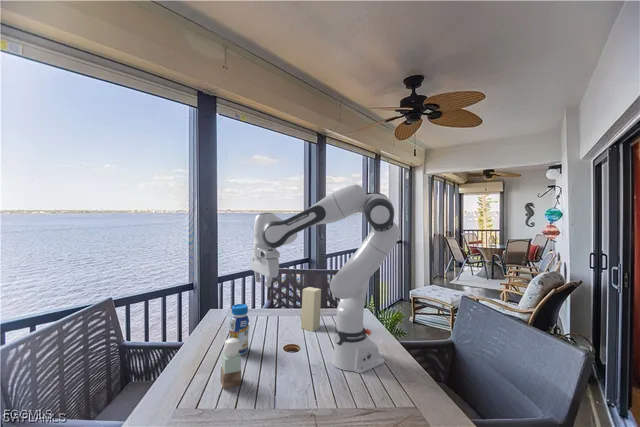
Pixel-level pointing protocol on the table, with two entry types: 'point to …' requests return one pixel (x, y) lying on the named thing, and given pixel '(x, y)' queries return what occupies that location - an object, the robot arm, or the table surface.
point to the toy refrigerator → (311, 308)
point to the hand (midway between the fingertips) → (262, 284)
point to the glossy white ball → (231, 348)
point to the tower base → (230, 379)
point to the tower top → (231, 364)
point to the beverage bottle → (240, 326)
